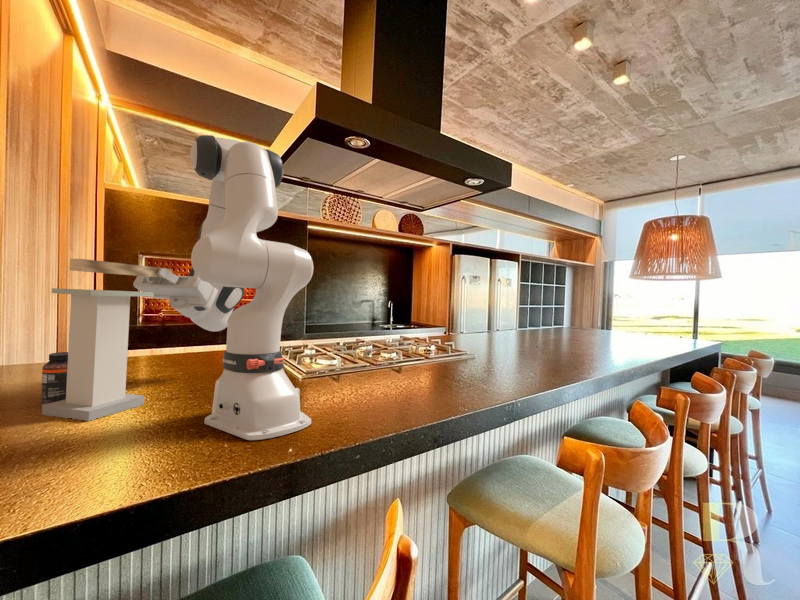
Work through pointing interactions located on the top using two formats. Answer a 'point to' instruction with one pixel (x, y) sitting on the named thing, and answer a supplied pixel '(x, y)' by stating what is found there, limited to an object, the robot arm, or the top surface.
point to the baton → (113, 268)
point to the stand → (96, 355)
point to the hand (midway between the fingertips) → (151, 270)
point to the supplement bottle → (54, 378)
